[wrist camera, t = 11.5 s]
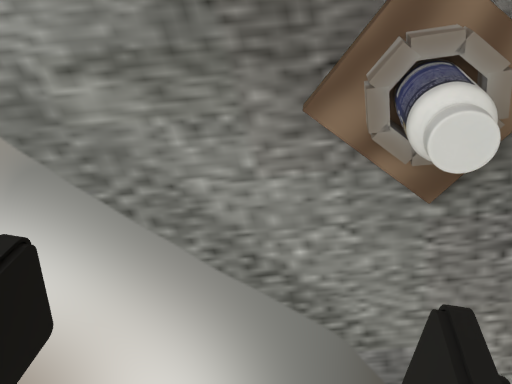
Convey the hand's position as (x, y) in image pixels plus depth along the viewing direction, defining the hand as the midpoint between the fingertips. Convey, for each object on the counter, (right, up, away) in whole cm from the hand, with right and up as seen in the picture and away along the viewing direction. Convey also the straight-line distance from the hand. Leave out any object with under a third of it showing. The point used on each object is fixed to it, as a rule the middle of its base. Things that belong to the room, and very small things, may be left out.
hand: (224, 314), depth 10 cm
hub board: (+14, +11, +24) cm, 30 cm away
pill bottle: (+14, +11, +23) cm, 29 cm away
